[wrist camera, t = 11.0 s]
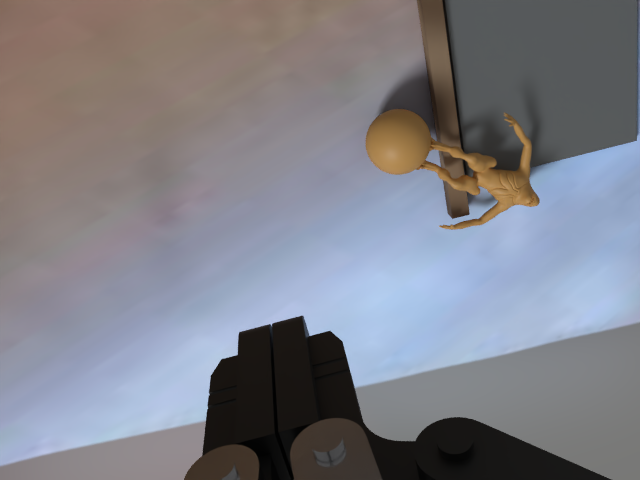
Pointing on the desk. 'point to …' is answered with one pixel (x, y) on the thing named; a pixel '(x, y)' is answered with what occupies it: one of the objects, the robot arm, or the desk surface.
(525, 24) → the mat
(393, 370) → the desk surface
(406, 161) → the figurine
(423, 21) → the bar
